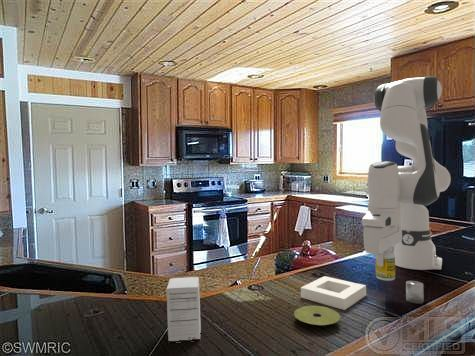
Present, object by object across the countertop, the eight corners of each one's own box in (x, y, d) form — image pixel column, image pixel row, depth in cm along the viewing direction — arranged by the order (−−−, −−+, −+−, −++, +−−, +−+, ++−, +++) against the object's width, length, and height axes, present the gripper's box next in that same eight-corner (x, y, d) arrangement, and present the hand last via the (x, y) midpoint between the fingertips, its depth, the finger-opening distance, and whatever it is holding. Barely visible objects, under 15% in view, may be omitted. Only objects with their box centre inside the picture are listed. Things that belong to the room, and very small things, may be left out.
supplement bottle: (382, 273, 101) (382, 242, 100) (399, 278, 96) (398, 246, 96) (371, 277, 98) (371, 245, 97) (388, 282, 93) (388, 249, 93)
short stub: (409, 296, 97) (408, 279, 97) (425, 300, 94) (425, 282, 94) (404, 300, 94) (403, 283, 94) (421, 304, 91) (420, 287, 91)
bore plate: (324, 285, 109) (324, 276, 109) (366, 295, 99) (366, 285, 99) (300, 297, 99) (300, 287, 99) (344, 310, 89) (344, 299, 89)
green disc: (286, 317, 86) (286, 309, 86) (322, 309, 90) (322, 302, 90) (310, 336, 75) (310, 328, 75) (350, 327, 79) (350, 319, 79)
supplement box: (171, 328, 81) (169, 277, 81) (201, 326, 82) (199, 276, 82) (167, 343, 74) (165, 288, 74) (200, 341, 74) (198, 286, 74)
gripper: (386, 211, 106) (387, 254, 106) (358, 220, 92) (360, 269, 92) (407, 213, 102) (408, 257, 102) (381, 222, 87) (383, 273, 87)
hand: (385, 263), depth 97 cm, fingers closed on supplement bottle, 5 cm apart
